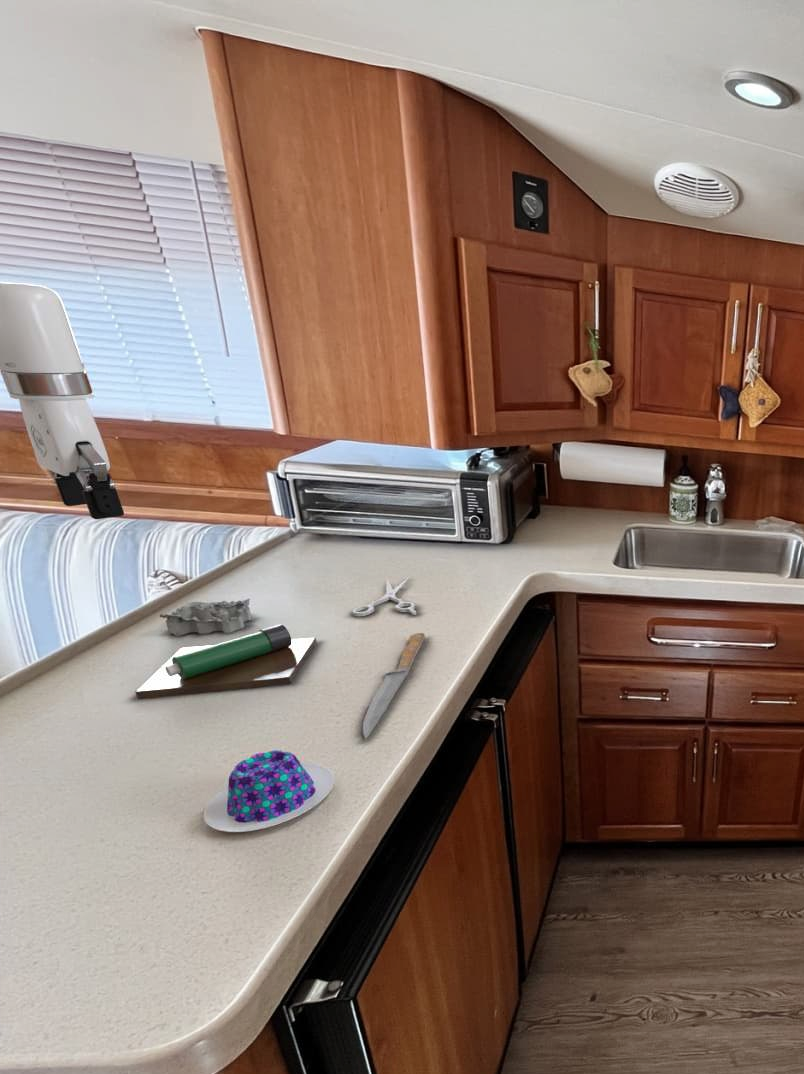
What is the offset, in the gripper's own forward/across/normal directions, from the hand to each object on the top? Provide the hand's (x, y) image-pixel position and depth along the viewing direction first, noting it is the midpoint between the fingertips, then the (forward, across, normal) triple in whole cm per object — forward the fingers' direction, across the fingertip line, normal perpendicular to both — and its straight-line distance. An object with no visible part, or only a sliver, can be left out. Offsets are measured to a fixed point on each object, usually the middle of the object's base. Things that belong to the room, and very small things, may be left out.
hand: (94, 510), depth 91 cm
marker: (+23, +13, +6) cm, 27 cm away
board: (+24, +13, +6) cm, 28 cm away
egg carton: (+24, -7, +11) cm, 28 cm away
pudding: (+24, +50, -6) cm, 56 cm away
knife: (+24, +36, +17) cm, 46 cm away
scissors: (+24, +4, +36) cm, 43 cm away
